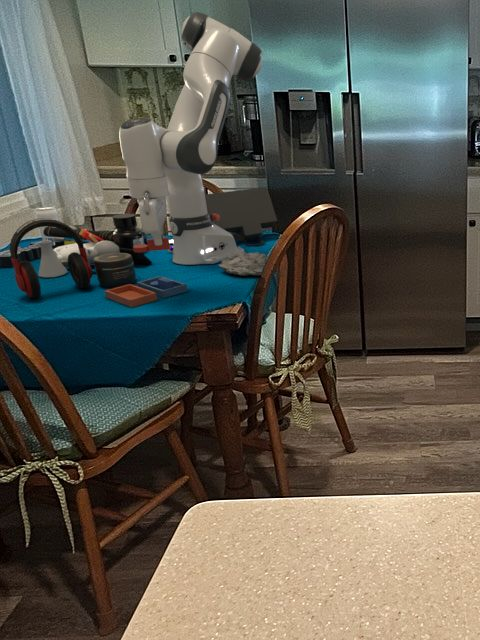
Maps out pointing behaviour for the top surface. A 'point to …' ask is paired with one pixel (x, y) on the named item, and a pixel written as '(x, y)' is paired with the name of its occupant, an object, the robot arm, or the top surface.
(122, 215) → the ink bottle
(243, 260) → the rock
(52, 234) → the flashlight
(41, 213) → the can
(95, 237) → the toy figure
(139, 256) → the smartphone
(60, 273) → the flask
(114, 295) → the terracotta tray
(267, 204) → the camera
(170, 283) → the navy paddle shape
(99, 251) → the round bodied animal figurine
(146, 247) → the red paddle shape
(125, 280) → the jar
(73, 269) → the headphones
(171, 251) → the building blocks
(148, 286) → the blue tray
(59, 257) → the binoculars
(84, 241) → the sponge
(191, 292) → the top surface
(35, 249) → the logo
